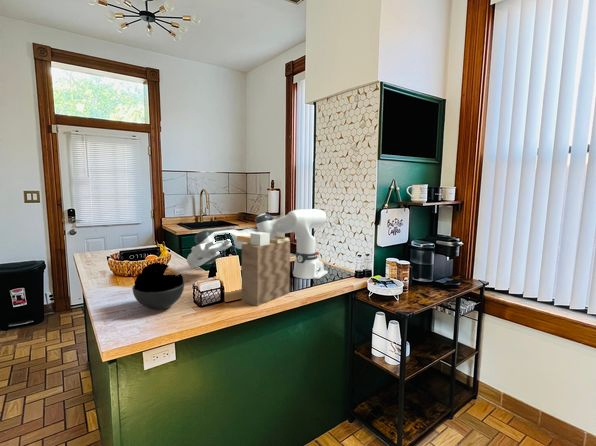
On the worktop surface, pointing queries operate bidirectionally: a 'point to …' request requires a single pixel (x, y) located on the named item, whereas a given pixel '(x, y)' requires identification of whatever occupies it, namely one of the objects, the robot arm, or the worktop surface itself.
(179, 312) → the worktop surface
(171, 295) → the dark grey bowl
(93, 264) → the worktop surface
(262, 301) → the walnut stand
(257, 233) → the mallet
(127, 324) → the worktop surface
